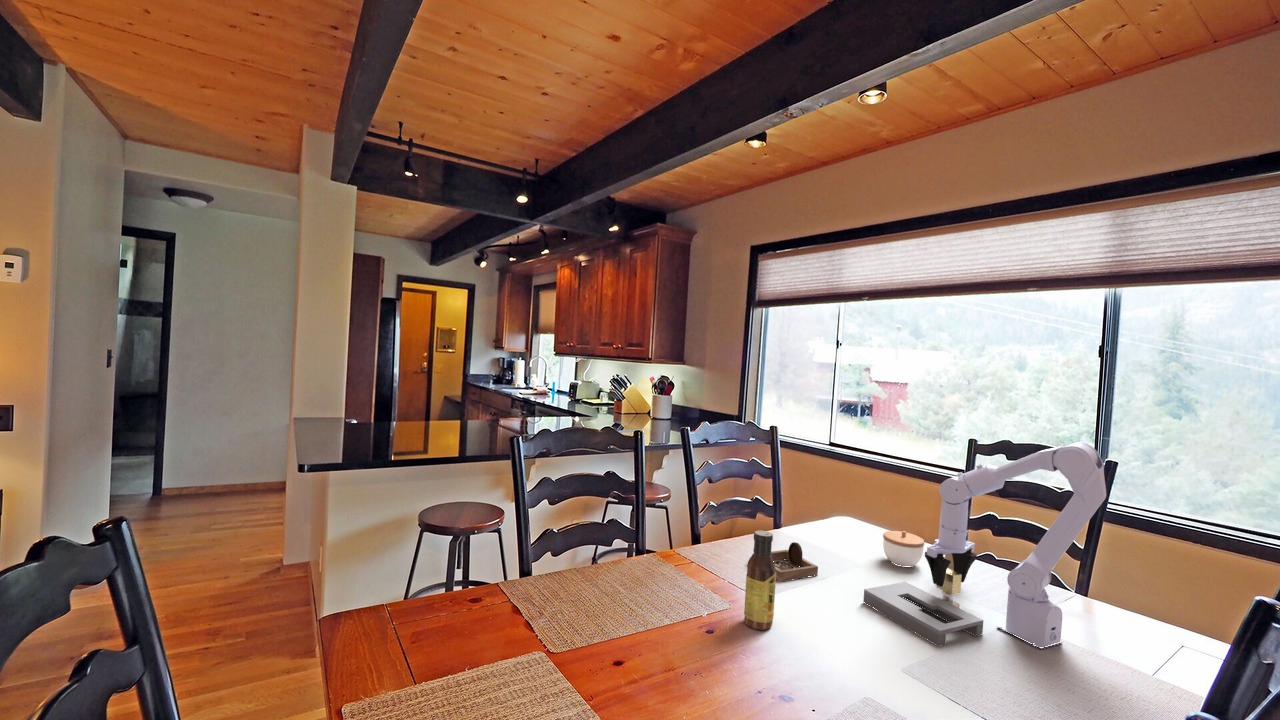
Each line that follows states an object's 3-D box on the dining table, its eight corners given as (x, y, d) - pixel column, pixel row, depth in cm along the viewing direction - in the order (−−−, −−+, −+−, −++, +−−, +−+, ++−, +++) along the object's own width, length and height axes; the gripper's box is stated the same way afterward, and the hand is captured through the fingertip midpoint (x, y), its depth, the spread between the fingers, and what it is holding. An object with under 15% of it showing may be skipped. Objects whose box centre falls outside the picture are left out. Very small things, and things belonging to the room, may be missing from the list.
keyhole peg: (963, 609, 132) (966, 574, 132) (949, 612, 130) (952, 577, 130) (944, 600, 137) (947, 566, 136) (930, 603, 134) (933, 568, 134)
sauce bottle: (773, 633, 116) (779, 540, 115) (743, 629, 117) (749, 536, 116) (772, 618, 122) (778, 530, 122) (743, 614, 123) (749, 527, 123)
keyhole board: (982, 634, 120) (983, 620, 120) (938, 646, 114) (939, 630, 114) (904, 594, 138) (905, 581, 138) (863, 602, 133) (864, 589, 132)
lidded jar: (924, 562, 161) (926, 531, 161) (920, 574, 152) (922, 541, 151) (884, 553, 167) (886, 522, 166) (878, 564, 157) (881, 532, 157)
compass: (765, 565, 152) (767, 539, 152) (791, 564, 154) (793, 538, 154) (779, 577, 145) (781, 550, 144) (806, 576, 147) (808, 549, 146)
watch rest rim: (817, 575, 147) (818, 566, 147) (780, 581, 142) (780, 572, 142) (786, 558, 158) (787, 549, 158) (751, 563, 153) (751, 554, 153)
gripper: (957, 519, 139) (953, 572, 140) (917, 524, 133) (913, 579, 134) (984, 528, 133) (980, 584, 133) (944, 534, 127) (939, 592, 127)
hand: (948, 582), depth 133 cm, fingers open, 7 cm apart
